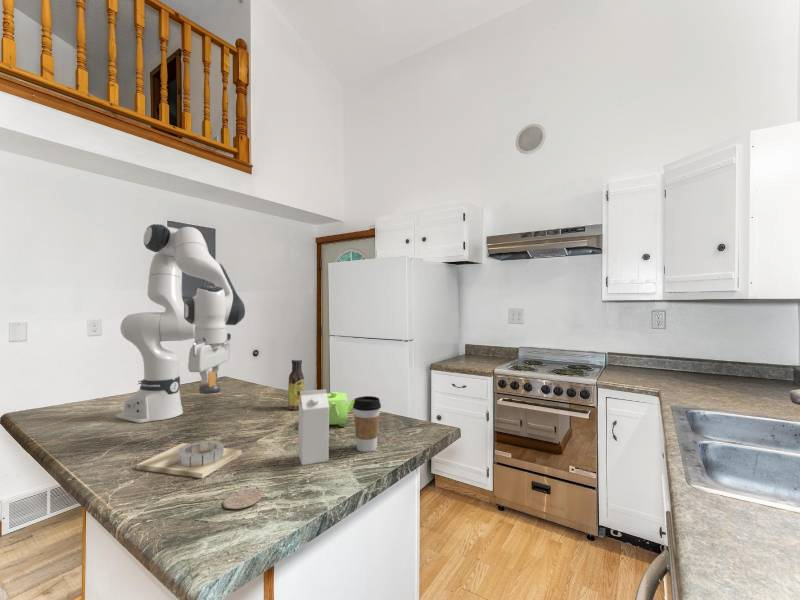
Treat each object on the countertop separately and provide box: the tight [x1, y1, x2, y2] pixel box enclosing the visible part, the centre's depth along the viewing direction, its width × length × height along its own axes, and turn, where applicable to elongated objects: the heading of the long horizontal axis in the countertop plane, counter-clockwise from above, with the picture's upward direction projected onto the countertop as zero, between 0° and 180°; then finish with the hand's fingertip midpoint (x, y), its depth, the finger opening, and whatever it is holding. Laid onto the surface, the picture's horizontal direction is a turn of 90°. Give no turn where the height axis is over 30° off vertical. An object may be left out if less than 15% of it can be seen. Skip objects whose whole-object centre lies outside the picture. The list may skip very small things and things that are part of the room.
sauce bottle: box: [287, 358, 305, 411], centre depth 153 cm, size 7×6×20 cm
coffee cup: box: [352, 395, 382, 453], centre depth 112 cm, size 8×8×15 cm
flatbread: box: [222, 488, 263, 510], centre depth 82 cm, size 8×8×1 cm
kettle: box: [327, 391, 355, 428], centre depth 134 cm, size 15×14×11 cm
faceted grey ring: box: [177, 440, 225, 467], centre depth 101 cm, size 11×11×3 cm
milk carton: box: [297, 389, 330, 466], centre depth 104 cm, size 7×7×19 cm
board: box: [136, 442, 242, 479], centre depth 102 cm, size 20×15×1 cm
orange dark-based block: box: [198, 370, 221, 395], centre depth 118 cm, size 6×6×6 cm
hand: (210, 380), depth 118 cm, fingers closed on orange dark-based block, 4 cm apart
